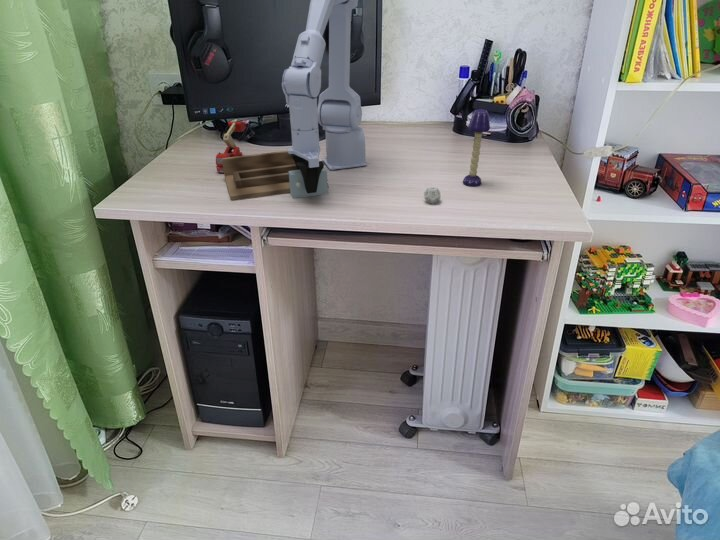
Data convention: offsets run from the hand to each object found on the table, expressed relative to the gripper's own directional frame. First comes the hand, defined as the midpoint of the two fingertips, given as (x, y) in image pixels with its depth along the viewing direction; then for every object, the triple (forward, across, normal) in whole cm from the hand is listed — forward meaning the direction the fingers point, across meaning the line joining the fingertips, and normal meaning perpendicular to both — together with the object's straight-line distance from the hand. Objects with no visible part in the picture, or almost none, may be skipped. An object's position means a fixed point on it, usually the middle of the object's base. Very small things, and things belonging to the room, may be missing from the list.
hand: (308, 187), depth 121 cm
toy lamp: (+2, +7, +37) cm, 38 cm away
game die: (+2, +13, +24) cm, 27 cm away
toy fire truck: (+2, -25, -14) cm, 29 cm away
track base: (+1, -9, -6) cm, 11 cm away
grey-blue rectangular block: (+2, 0, 0) cm, 2 cm away
